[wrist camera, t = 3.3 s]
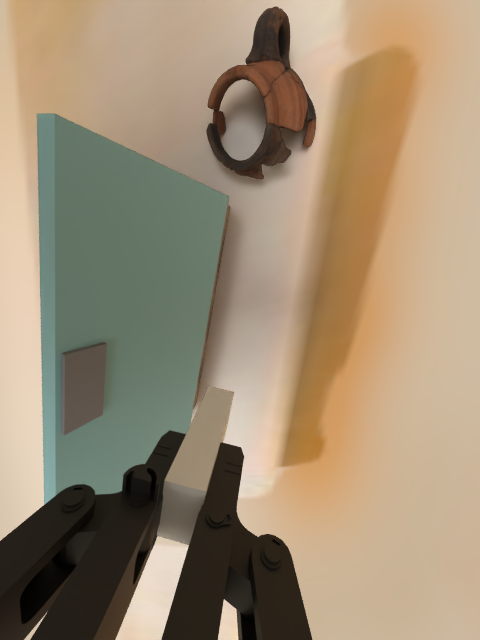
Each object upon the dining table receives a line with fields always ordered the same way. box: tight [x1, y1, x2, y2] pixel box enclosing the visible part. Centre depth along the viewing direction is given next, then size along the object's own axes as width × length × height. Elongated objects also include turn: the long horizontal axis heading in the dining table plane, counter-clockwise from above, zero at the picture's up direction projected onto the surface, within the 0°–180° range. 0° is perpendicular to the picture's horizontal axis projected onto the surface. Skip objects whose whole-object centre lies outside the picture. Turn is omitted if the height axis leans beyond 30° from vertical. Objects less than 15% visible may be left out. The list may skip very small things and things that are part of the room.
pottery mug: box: [207, 7, 316, 179], centre depth 25 cm, size 12×10×8 cm
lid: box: [37, 114, 229, 505], centre depth 20 cm, size 26×14×2 cm
